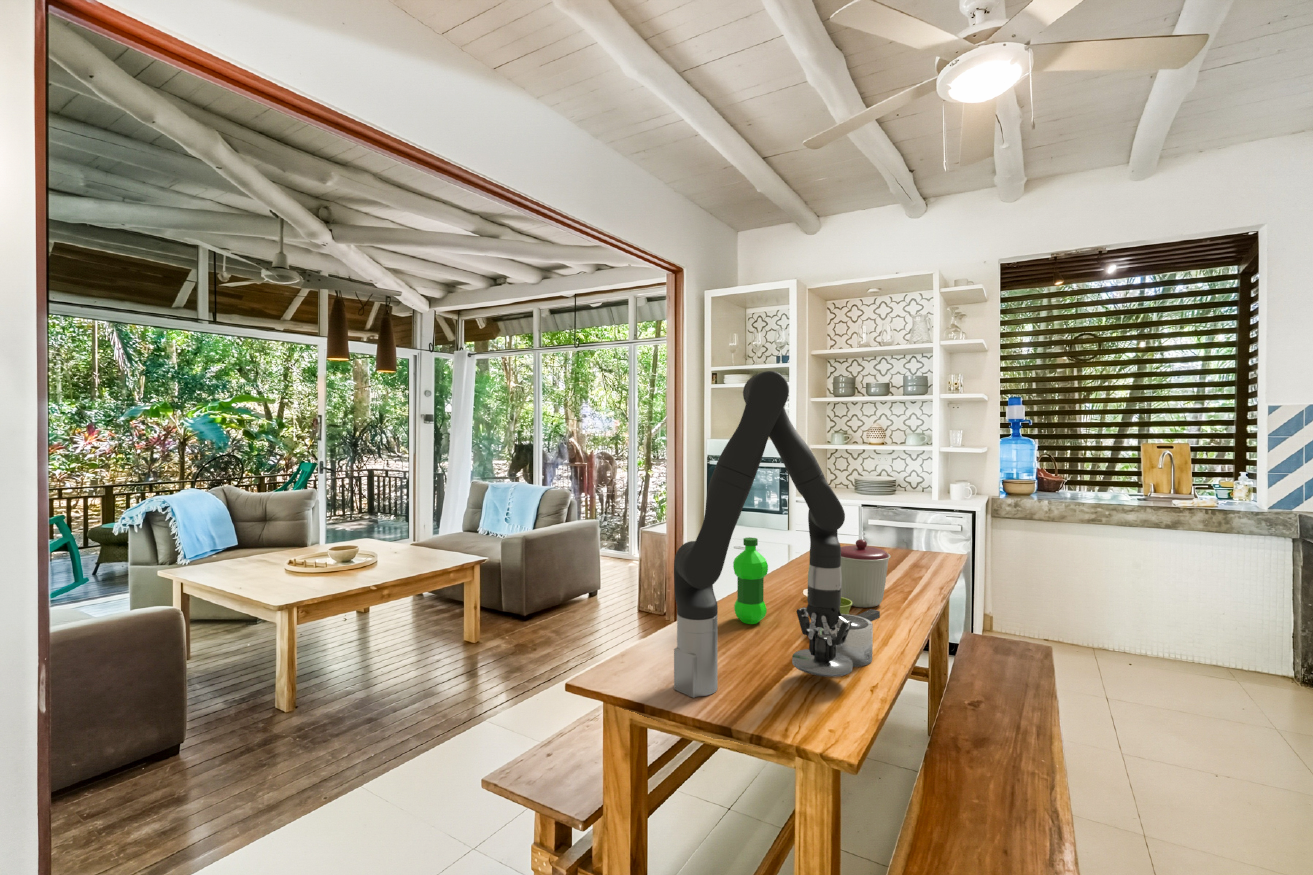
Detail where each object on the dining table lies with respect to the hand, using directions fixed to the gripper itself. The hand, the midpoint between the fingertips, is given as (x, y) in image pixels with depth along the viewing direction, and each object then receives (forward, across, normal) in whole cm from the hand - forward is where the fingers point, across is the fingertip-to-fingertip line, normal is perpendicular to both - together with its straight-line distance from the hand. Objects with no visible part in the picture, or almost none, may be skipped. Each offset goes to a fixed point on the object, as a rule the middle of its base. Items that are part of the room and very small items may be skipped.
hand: (822, 656), depth 147 cm
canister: (+5, -24, +62) cm, 67 cm away
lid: (+2, 0, 0) cm, 2 cm away
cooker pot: (+6, -4, +21) cm, 22 cm away
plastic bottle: (+6, -38, +21) cm, 44 cm away
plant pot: (+6, -16, +32) cm, 37 cm away
